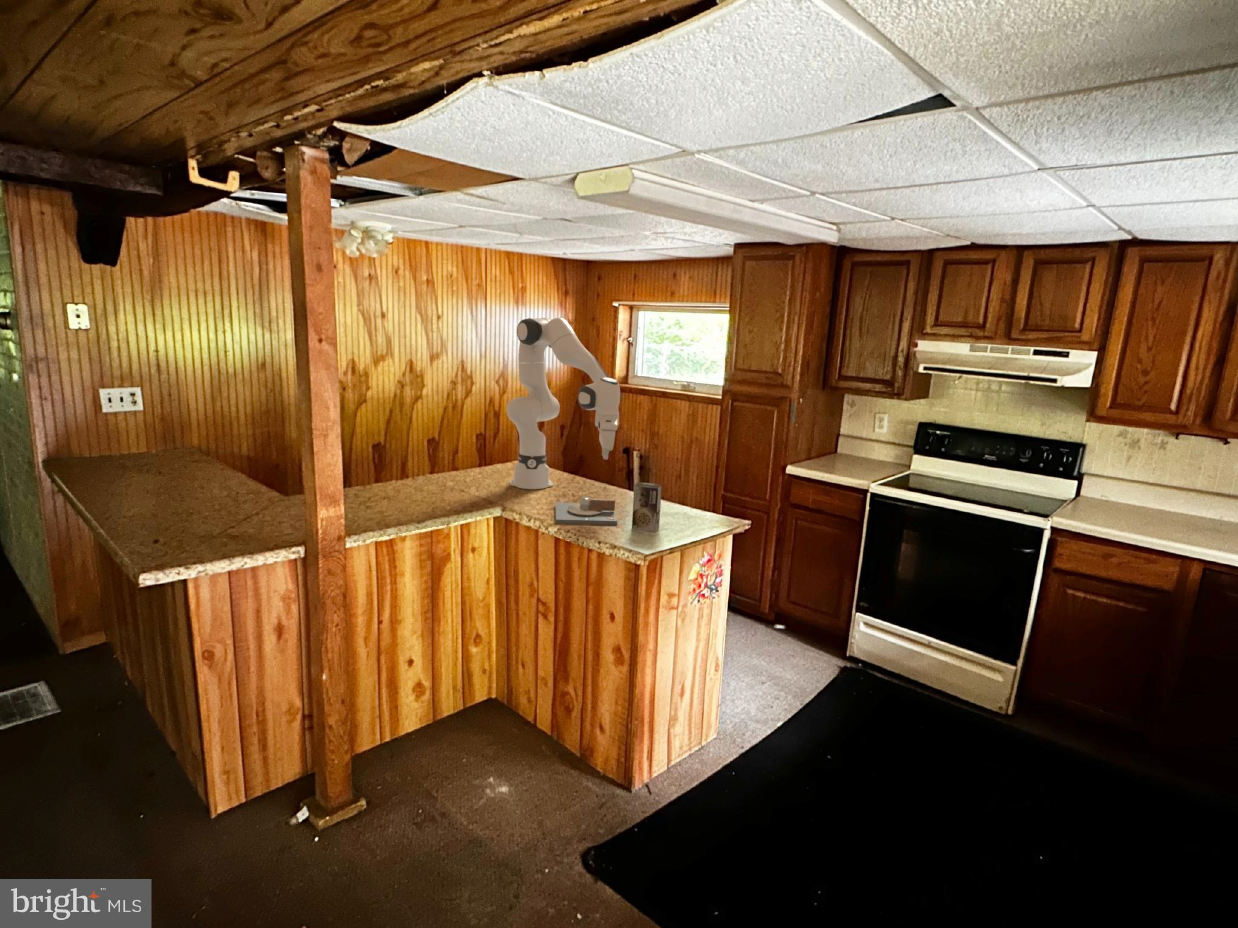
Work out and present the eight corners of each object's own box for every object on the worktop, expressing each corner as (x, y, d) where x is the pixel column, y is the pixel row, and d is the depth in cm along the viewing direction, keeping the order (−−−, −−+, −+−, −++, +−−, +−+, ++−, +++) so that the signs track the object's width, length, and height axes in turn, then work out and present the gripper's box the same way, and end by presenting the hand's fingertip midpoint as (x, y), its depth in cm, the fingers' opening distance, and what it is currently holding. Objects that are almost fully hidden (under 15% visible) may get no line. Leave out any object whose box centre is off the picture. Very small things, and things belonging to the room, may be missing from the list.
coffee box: (659, 527, 237) (662, 484, 234) (655, 532, 231) (659, 488, 228) (635, 524, 239) (638, 481, 236) (630, 529, 233) (633, 485, 230)
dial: (568, 515, 239) (568, 502, 238) (567, 505, 252) (567, 493, 250) (615, 516, 241) (616, 503, 240) (612, 506, 254) (613, 494, 252)
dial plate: (555, 506, 256) (555, 502, 255) (611, 507, 258) (611, 503, 258) (555, 523, 234) (556, 519, 234) (617, 525, 237) (617, 520, 236)
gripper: (596, 417, 255) (594, 451, 258) (600, 425, 235) (598, 463, 238) (612, 417, 256) (610, 452, 259) (617, 426, 236) (615, 463, 239)
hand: (604, 457), depth 248 cm, fingers open, 3 cm apart
